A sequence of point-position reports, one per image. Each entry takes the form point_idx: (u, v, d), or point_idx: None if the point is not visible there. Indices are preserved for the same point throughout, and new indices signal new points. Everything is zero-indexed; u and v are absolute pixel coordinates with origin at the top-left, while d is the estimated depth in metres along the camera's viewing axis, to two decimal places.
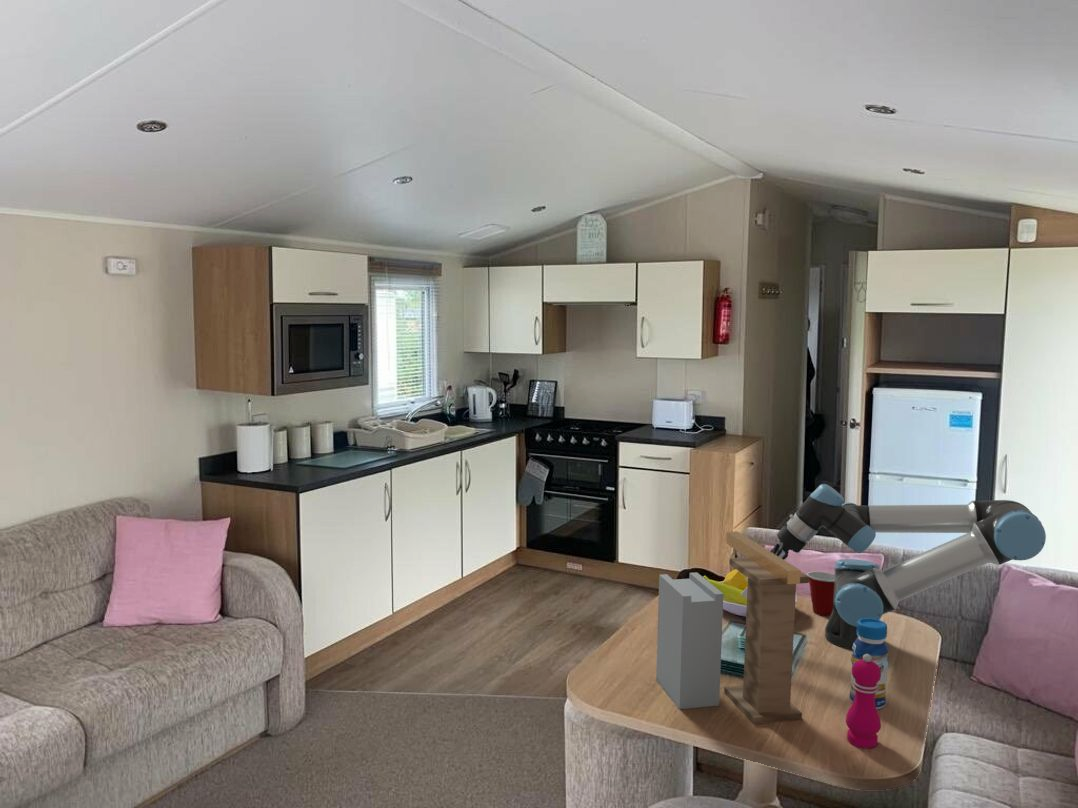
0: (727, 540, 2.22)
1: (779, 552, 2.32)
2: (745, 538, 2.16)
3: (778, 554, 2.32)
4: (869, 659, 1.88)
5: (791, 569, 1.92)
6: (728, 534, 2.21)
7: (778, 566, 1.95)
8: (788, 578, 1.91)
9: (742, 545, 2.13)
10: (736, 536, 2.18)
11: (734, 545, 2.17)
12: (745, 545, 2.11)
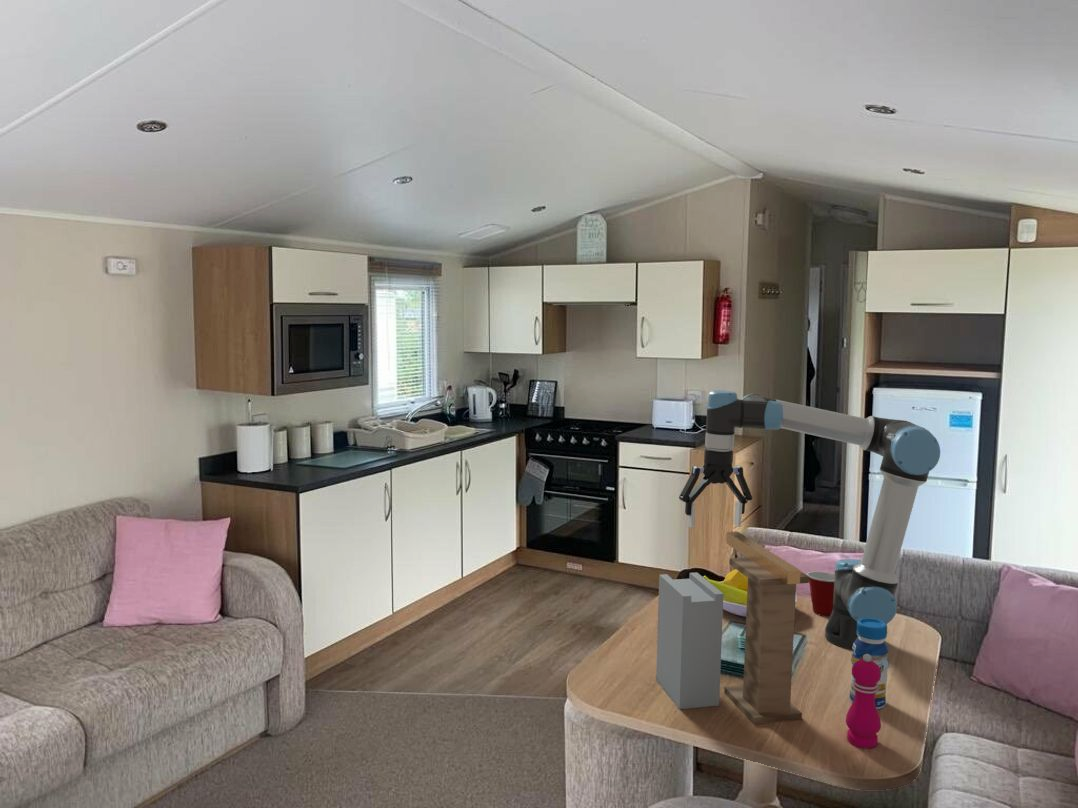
0: (727, 540, 2.22)
1: (692, 468, 2.33)
2: (745, 538, 2.16)
3: (692, 470, 2.33)
4: (869, 659, 1.88)
5: (791, 569, 1.92)
6: (728, 534, 2.21)
7: (778, 566, 1.95)
8: (788, 578, 1.91)
9: (742, 545, 2.13)
10: (736, 536, 2.18)
11: (734, 545, 2.17)
12: (745, 545, 2.11)
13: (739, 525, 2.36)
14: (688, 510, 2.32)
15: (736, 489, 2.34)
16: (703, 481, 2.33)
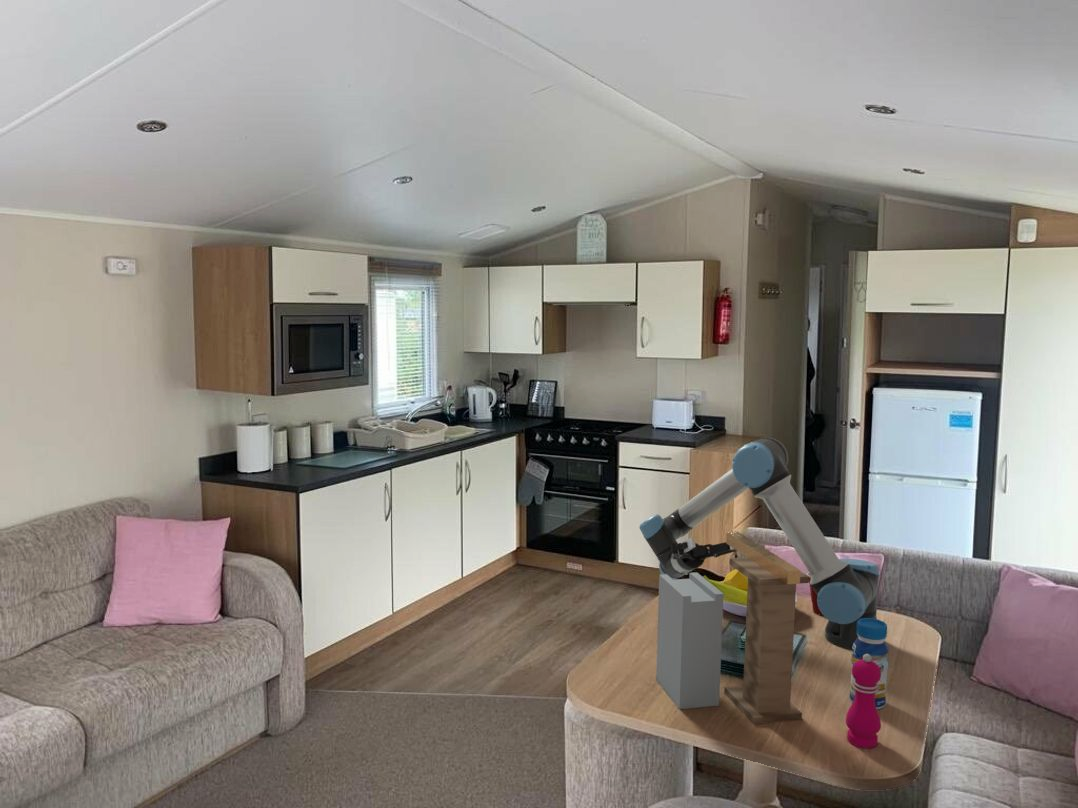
0: (727, 540, 2.22)
1: (673, 557, 2.45)
2: (745, 538, 2.16)
3: (673, 556, 2.44)
4: (869, 659, 1.88)
5: (791, 569, 1.92)
6: (728, 534, 2.21)
7: (778, 566, 1.95)
8: (788, 578, 1.91)
9: (742, 545, 2.13)
10: (736, 536, 2.18)
11: (734, 545, 2.17)
12: (745, 545, 2.11)
13: None
14: (682, 543, 2.35)
15: None
16: None
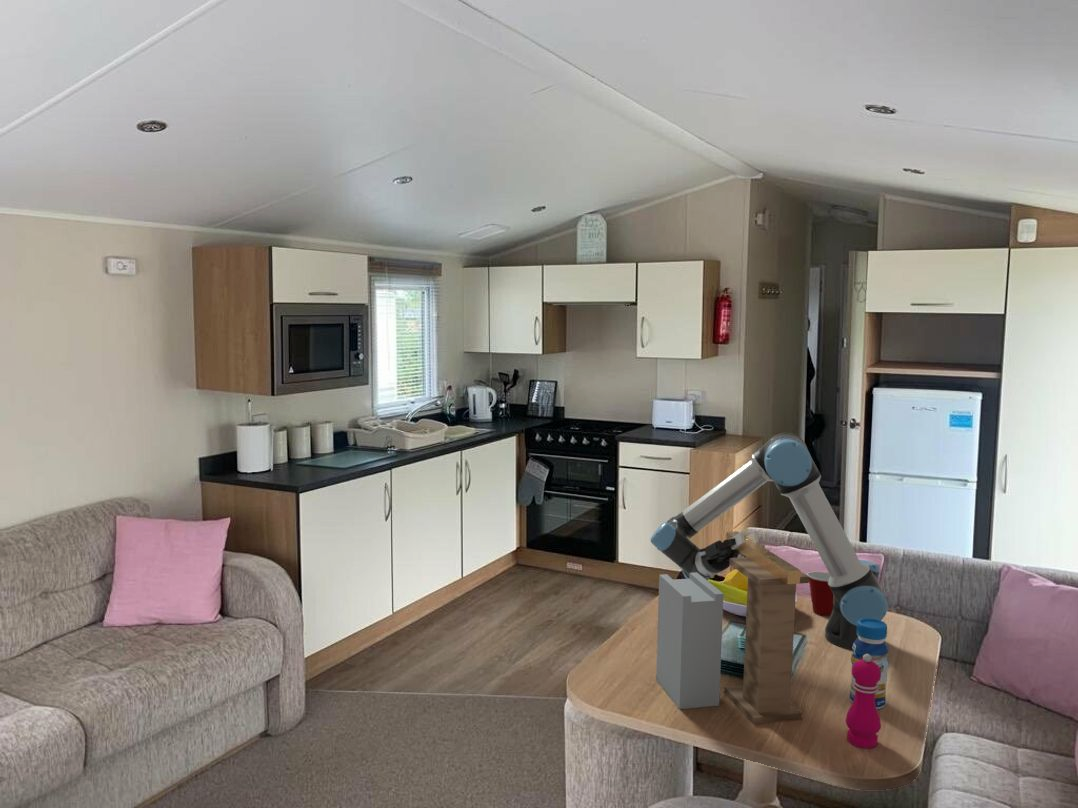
0: None
1: (701, 557, 2.25)
2: (745, 538, 2.16)
3: (703, 556, 2.25)
4: (869, 659, 1.88)
5: (791, 569, 1.92)
6: (728, 534, 2.21)
7: (778, 566, 1.95)
8: (788, 578, 1.91)
9: (742, 545, 2.13)
10: None
11: None
12: (745, 545, 2.11)
13: None
14: None
15: None
16: None
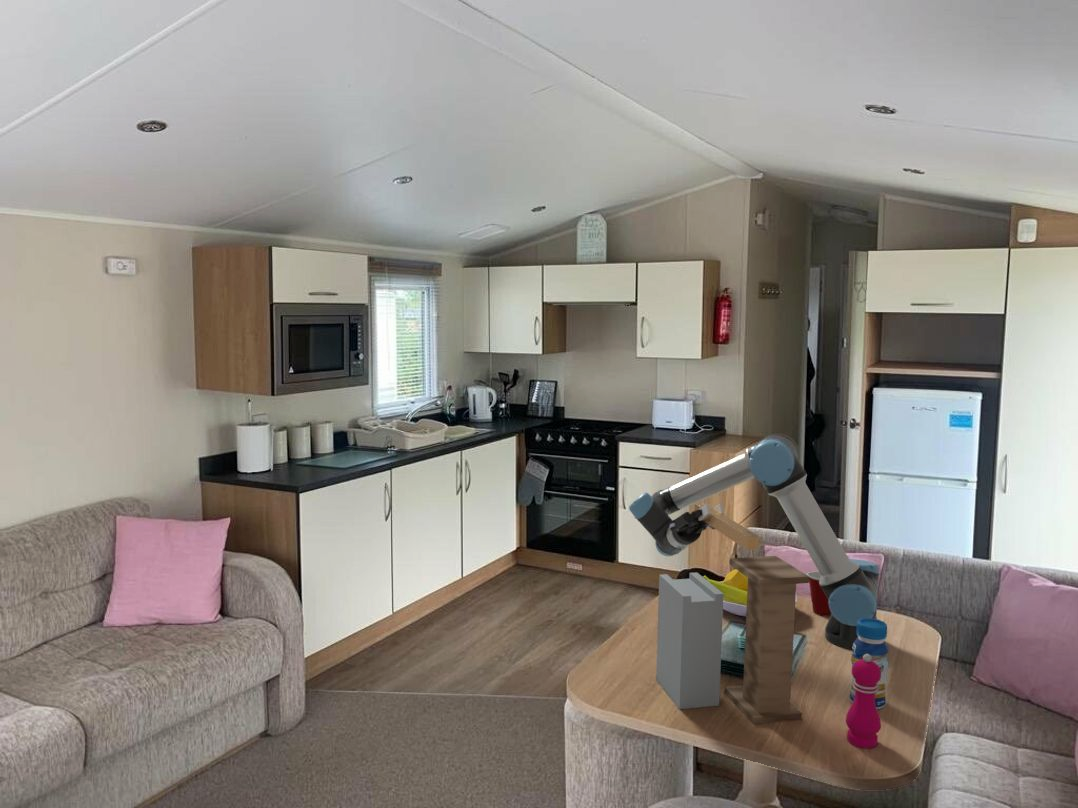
0: None
1: (671, 528, 2.34)
2: (712, 509, 2.25)
3: (672, 527, 2.34)
4: (869, 659, 1.88)
5: (751, 536, 2.01)
6: (696, 506, 2.30)
7: (739, 533, 2.04)
8: (747, 544, 2.00)
9: (708, 516, 2.22)
10: None
11: None
12: (711, 515, 2.20)
13: None
14: None
15: None
16: (688, 522, 2.33)
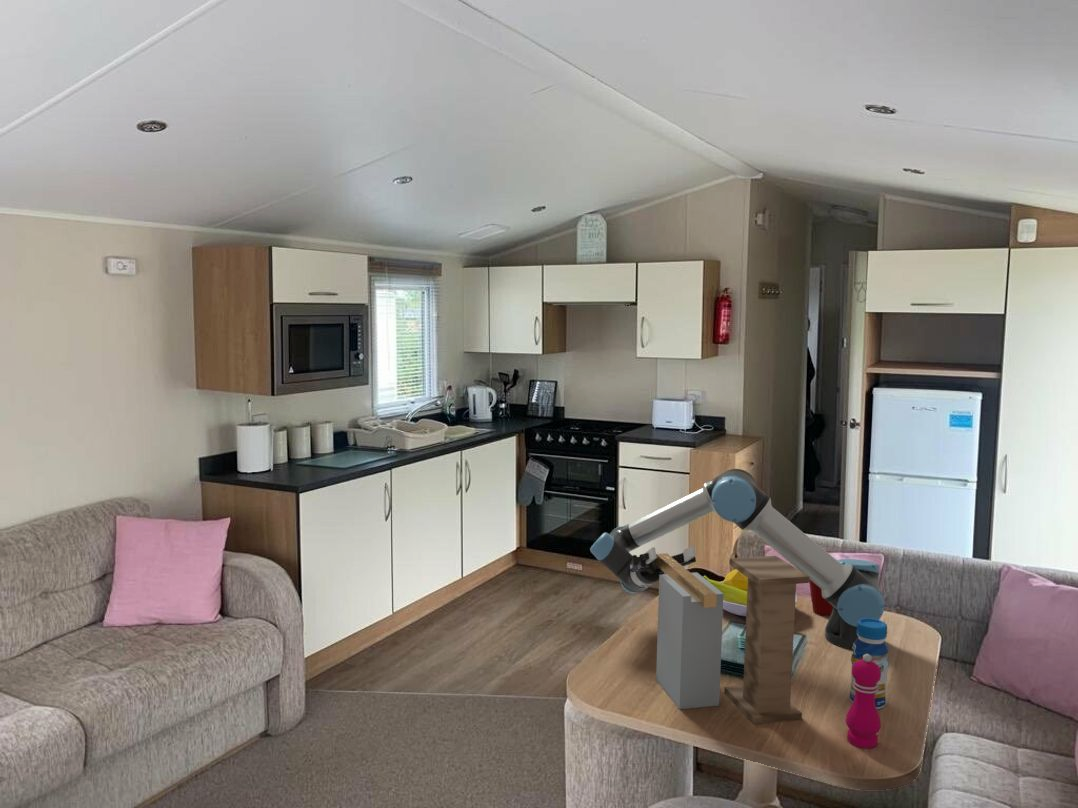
0: (656, 562, 2.29)
1: (630, 570, 2.34)
2: (672, 560, 2.24)
3: (631, 569, 2.33)
4: (869, 659, 1.88)
5: (708, 593, 2.00)
6: (657, 556, 2.29)
7: (696, 590, 2.03)
8: (704, 601, 1.99)
9: (668, 568, 2.21)
10: (664, 558, 2.26)
11: (662, 567, 2.25)
12: (671, 568, 2.19)
13: None
14: None
15: None
16: None
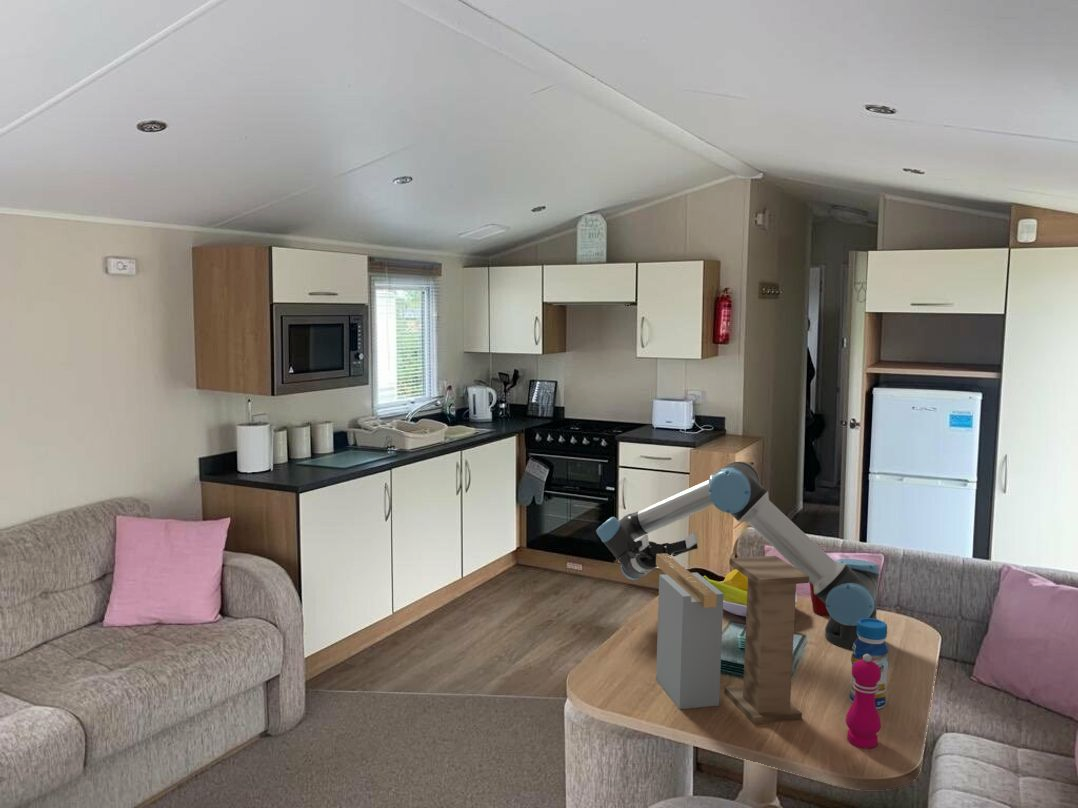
0: (656, 562, 2.29)
1: (630, 557, 2.44)
2: (672, 560, 2.24)
3: (630, 556, 2.43)
4: (869, 659, 1.88)
5: (708, 593, 2.00)
6: (657, 556, 2.29)
7: (696, 590, 2.03)
8: (704, 601, 1.99)
9: (668, 568, 2.21)
10: (664, 558, 2.26)
11: (662, 567, 2.25)
12: (671, 568, 2.19)
13: None
14: None
15: None
16: None
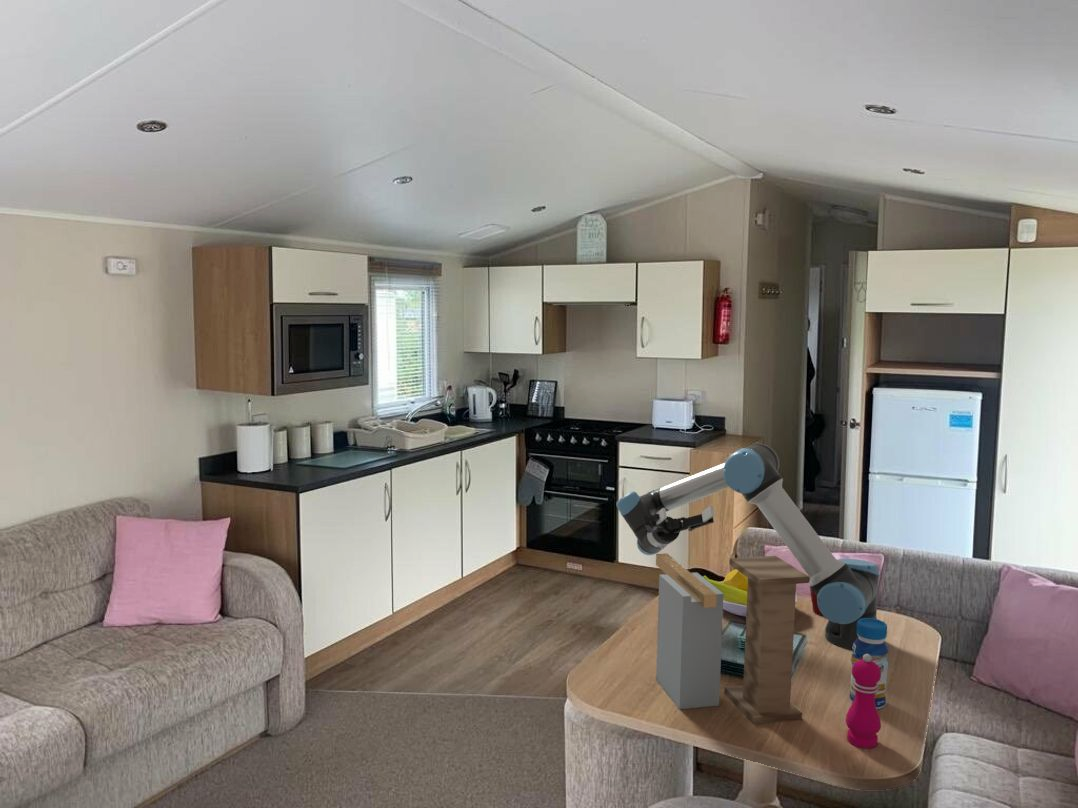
0: (656, 562, 2.29)
1: (647, 531, 2.48)
2: (672, 560, 2.24)
3: (647, 530, 2.48)
4: (869, 659, 1.88)
5: (708, 593, 2.00)
6: (657, 556, 2.29)
7: (696, 590, 2.03)
8: (704, 601, 1.99)
9: (668, 568, 2.21)
10: (664, 558, 2.26)
11: (662, 567, 2.25)
12: (671, 568, 2.19)
13: None
14: None
15: None
16: None
